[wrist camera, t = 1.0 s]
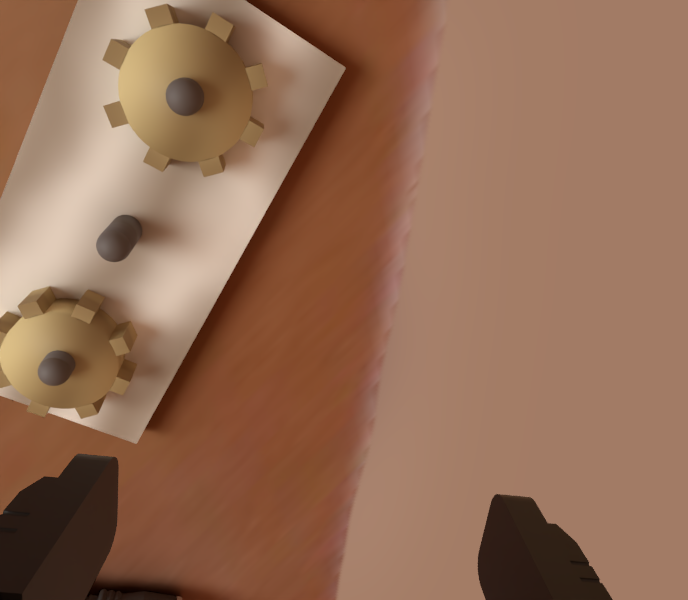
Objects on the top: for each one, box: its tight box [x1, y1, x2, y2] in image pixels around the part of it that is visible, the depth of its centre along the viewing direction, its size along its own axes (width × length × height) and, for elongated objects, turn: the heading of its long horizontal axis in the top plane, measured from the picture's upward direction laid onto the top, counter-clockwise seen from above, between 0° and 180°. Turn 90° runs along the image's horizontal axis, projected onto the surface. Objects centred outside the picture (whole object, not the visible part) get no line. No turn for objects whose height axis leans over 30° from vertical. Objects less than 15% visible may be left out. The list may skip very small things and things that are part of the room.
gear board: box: [0, 0, 346, 444], centre depth 28 cm, size 12×26×5 cm, turn 148°
